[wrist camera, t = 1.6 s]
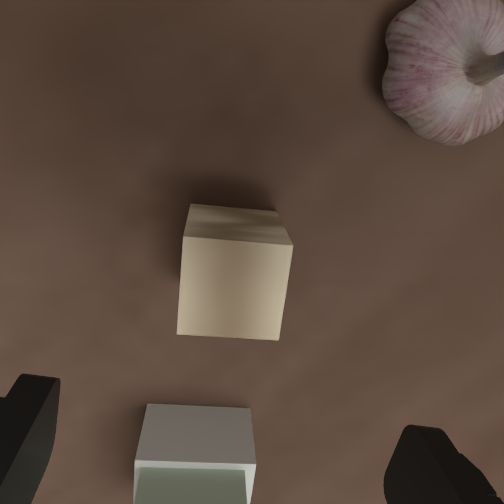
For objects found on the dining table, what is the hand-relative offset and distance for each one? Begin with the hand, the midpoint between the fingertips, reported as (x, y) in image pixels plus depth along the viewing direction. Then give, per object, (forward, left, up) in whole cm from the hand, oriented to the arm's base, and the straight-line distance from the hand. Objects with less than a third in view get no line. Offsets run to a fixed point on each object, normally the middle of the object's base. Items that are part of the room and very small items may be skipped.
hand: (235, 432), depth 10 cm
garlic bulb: (-11, -9, -17) cm, 22 cm away
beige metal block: (-1, +2, -17) cm, 17 cm away
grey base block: (0, +17, -17) cm, 24 cm away
